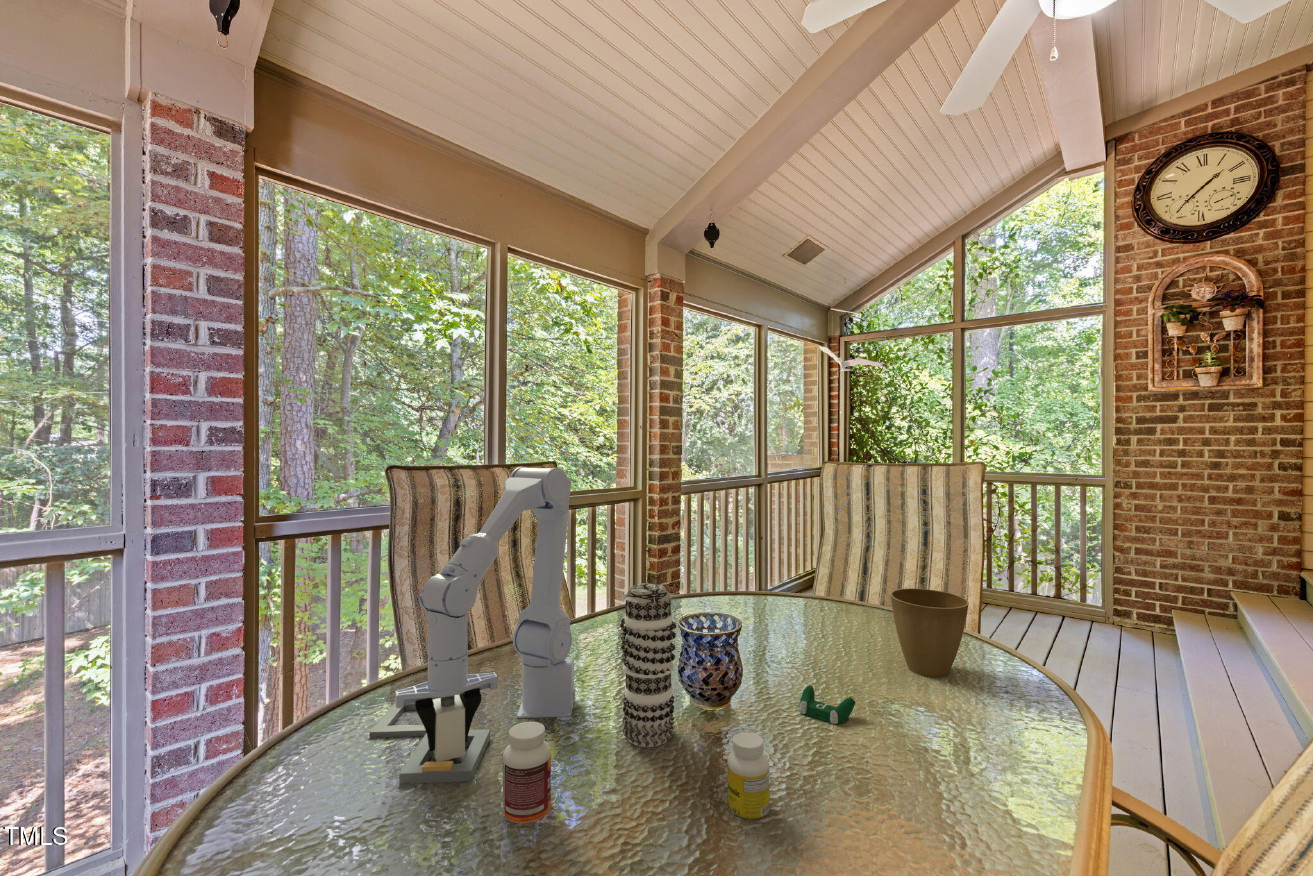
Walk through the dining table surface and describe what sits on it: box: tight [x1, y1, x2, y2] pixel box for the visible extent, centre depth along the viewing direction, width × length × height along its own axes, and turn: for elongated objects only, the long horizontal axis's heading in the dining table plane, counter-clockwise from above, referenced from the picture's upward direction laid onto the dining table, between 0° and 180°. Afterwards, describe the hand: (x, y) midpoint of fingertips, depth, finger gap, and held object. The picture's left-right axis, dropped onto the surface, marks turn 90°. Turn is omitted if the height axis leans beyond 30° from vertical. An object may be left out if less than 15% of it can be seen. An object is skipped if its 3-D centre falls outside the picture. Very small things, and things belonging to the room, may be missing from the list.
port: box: [398, 728, 491, 785], centre depth 88 cm, size 10×12×3 cm
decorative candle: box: [619, 582, 677, 748], centre depth 95 cm, size 9×9×25 cm
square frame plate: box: [369, 702, 426, 739], centre depth 102 cm, size 10×12×1 cm
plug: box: [433, 694, 466, 762], centre depth 88 cm, size 4×6×8 cm, turn 28°
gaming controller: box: [798, 685, 856, 726], centre depth 102 cm, size 9×4×6 cm
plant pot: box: [890, 587, 970, 678], centre depth 122 cm, size 15×15×16 cm
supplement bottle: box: [727, 731, 771, 821], centre depth 76 cm, size 5×5×10 cm
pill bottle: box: [502, 721, 552, 824], centre depth 76 cm, size 6×6×11 cm
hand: (447, 743), depth 88 cm, fingers closed on plug, 4 cm apart
